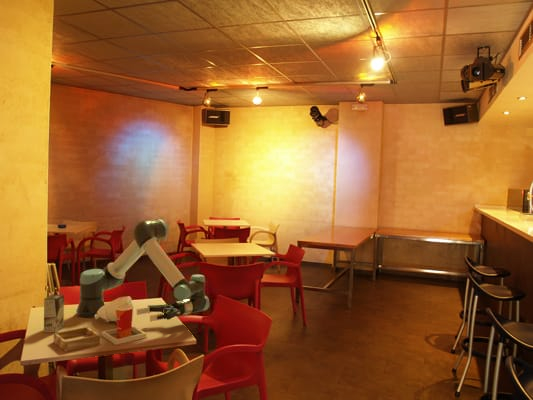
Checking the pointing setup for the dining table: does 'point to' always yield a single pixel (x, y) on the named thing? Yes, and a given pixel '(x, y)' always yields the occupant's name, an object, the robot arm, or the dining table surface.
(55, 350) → the dining table surface
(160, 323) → the dining table surface
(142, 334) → the tray
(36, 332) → the dining table surface
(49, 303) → the coffee box
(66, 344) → the tray
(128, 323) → the coffee cup
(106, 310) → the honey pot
